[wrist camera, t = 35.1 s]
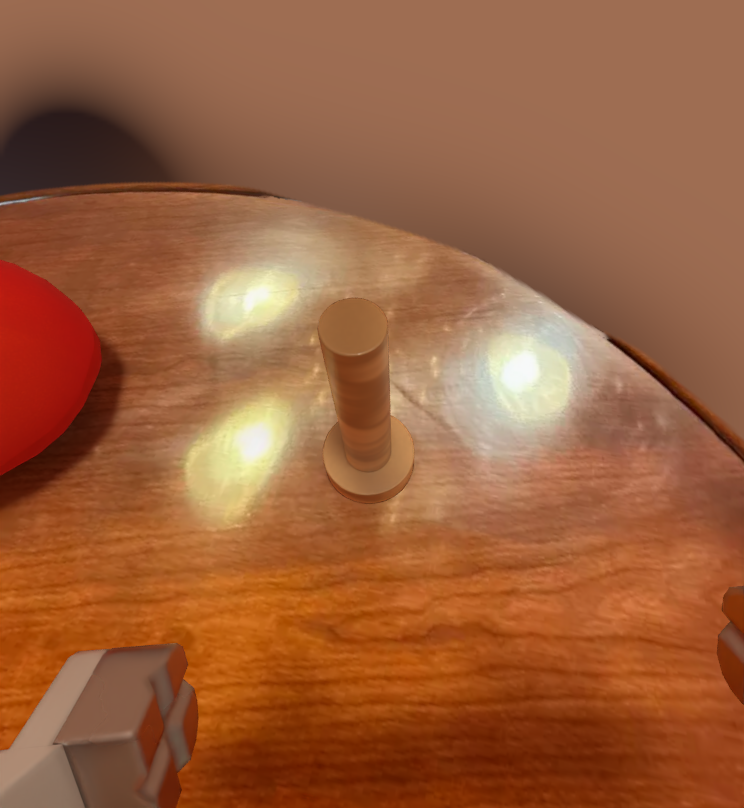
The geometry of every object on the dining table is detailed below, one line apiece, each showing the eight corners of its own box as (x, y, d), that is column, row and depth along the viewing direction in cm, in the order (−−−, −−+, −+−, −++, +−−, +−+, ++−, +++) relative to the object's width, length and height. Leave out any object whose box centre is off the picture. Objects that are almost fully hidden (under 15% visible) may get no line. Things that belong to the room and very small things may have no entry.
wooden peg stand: (383, 406, 34) (375, 249, 22) (431, 473, 32) (452, 342, 20) (310, 448, 33) (257, 309, 21) (354, 520, 31) (326, 414, 19)
